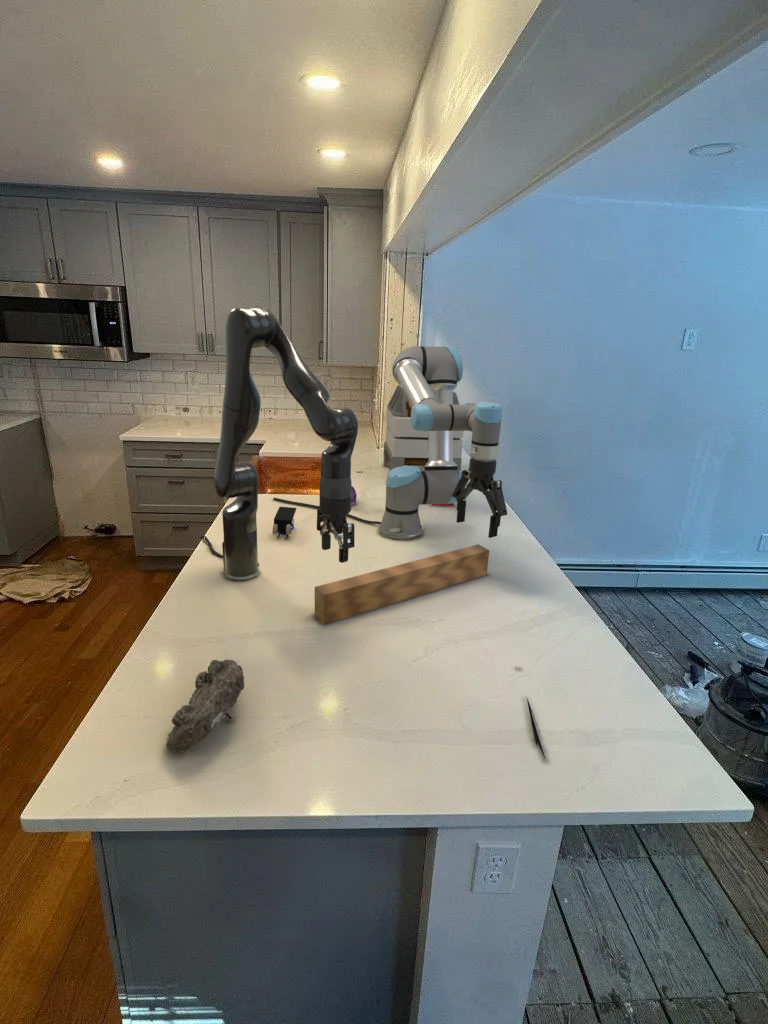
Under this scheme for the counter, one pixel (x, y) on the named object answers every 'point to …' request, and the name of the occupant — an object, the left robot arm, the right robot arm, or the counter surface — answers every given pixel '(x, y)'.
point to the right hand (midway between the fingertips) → (476, 529)
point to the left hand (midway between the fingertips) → (334, 555)
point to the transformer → (410, 435)
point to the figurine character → (284, 521)
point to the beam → (398, 583)
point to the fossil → (206, 705)
